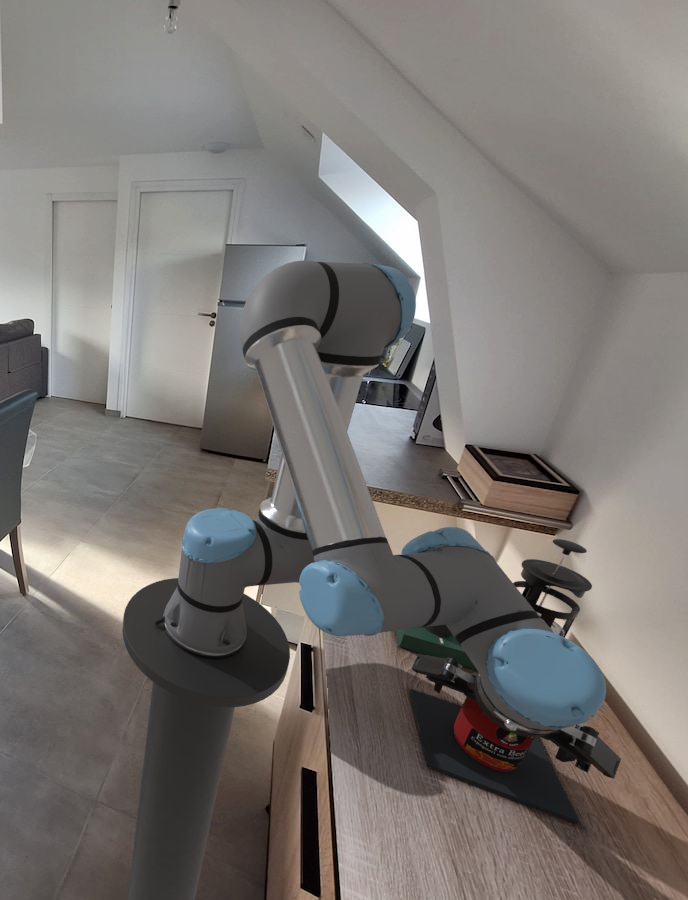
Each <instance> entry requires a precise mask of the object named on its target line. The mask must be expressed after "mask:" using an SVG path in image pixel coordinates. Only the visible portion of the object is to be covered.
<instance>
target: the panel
mask: <svg viewBox="0 0 688 900" xmlns="http://www.w3.org/2000/svg"><path fill="white" fill-rule="evenodd" d="M395 633H396V638H397V642H398V646H399V647H400V648H403V649H406V650H409V651H413V652H416V653H418V654H422V655H428V656H433V657H439V658H444V659H446V658H448V657H450V658H454V659H455V660H457V661H458V662H459V665H461V666H462V667H466V668H470V669H472V670H476V671H478V670H477V669H476V667H475V666H474V664H473V663H472V661H471V660H470V658H469V657H468V655H467V654H466V652H465V651H464V649H463V648H462V646H460V645H459V643H458V641H457V640H456V639H455V637H454V636H453V635H452V636H451V637H442V636H438V635H435V634H433V633H431V632H429V631H428V630H427V629H425V628H424V627H421V628H420V627H418V628H409V629H402V630H395Z"/></svg>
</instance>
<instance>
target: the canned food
mask: <svg viewBox="0 0 688 900" xmlns="http://www.w3.org/2000/svg"><path fill="white" fill-rule="evenodd" d="M463 701H464V702H463V704H462V705H461V706H462V708H461V710H460V712H459V715H458V717H457V719H456V721H455V724H454V735H455V738H456V740H457V742H458V743H459V745H460V746H461V747H462V749H463V750H464V751H465V752H466V753H467V754H469V755H470V756H471V757H472V758H473V759H475V760H476V761H478V762H479V763H481V764H483V765H485V766H487V767H489V768H491V769H494V770H498V771H505V772H508V771H512V770H514V769H515V768H517V767H518V766H519V765H520V763H521V762H522V760H523V758H524V756H525V755H526V753H527V751H528V749H529V747H530V746H531V744H532V742H533V740H534V739H535V737H526V736H521V735H517V734H514V733H511V732H509V731H507V730H505V729H503V728H501V727H500V726H498V725H497V724H495V723H494V722H493V721H492V720H490V719H489V718H488V717H487V716H486V715H485V713H484V712H483V711H482V710H481V708H480V707H479V705H478V703H476V702H474V701H472V700H471V699H469V698H468V697H466V696H465V699H464V700H463Z"/></svg>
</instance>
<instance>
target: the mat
mask: <svg viewBox="0 0 688 900" xmlns="http://www.w3.org/2000/svg"><path fill="white" fill-rule="evenodd" d="M409 693H410V697H411V701H412V702H411V703H412V705H413V710H414V714H415V719H416V724H417V727H418V731H419V736H420V741H421V744H422V748H423V753H424V757H425V763H426V766H427V768H430V769H432V770H434V771H437V772H439V773H443V774H445V775H448V776H450V777H453V778H456V779H458V780H461V781H462V782H463V781H464V782H466V783H468V784H471V785H473V786H477V787H479V788H482V789H484V790H486V791H489V792H492V793H495V794H498V795H500V796H503V797H504V798H508V799H511V800H513V801H516V802H518V803H521V804H524V805H525V806H526V805H527V806H529V807H531V808H534V809H536V810H539V811H542V812H545V813H547V814H550V815H552V816H555V817H557V818H561V819H563V820H565V821H568V822H571V823H573V824H576V825H579V823H580V819H579V817H578V815H577V814H576V811H575V810H574V807H573V805H572V804H571V801H570V798H569V797H568V795H567V793H566V791H565V789H564V787H563V785H562V783H561V781H560V779H559V777H558V775H557V772H556V771H555V769H554V767H553V764H552V763H551V761H550V758H549V757H548V755H547V753H546V750H545V749H544V747H543V744H542V742H541V740H540V737H535V739H534V740H533V742H532V744H531V746H530V747H529V749H528V751H527V753H526V755H525V756H524V758H523V760H522V762H521V763H520V765H519V766H518V767H517V768H515V769H514V770H512V771H508V772H505V771H498V770H494V769H491V768H489V767H487V766H485V765H483V764H481V763H479V762H478V761H476V760H475V759H473V758H472V757H471V756H470V755H469V754H467V753H466V752H465V751H464V750H463V749H462V747H461V746H460V745H459V743H458V742H457V740H456V738H455V735H454V724H455V721H456V719H457V717H458V715H459V712H460V710H461V708H462V706H463V705H461V704H458V703H455V702H453V701H449V700H446V699H443V698H440V697H437V696H434V695H431V694H428V693H425V692H422V691H418V690H415V689H412V688H411V689H410V690H409Z"/></svg>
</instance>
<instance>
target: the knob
mask: <svg viewBox="0 0 688 900" xmlns="http://www.w3.org/2000/svg"><path fill="white" fill-rule="evenodd" d="M424 628H425V629H427V630H428V631H429V632H431V633H433V634H435V635H438V636H442V637H451V636H452V635H453V634H452V633H451V631H450V630H449V629H448V627H447V626H446V624H445V625H437V626H429V627H424Z"/></svg>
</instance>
